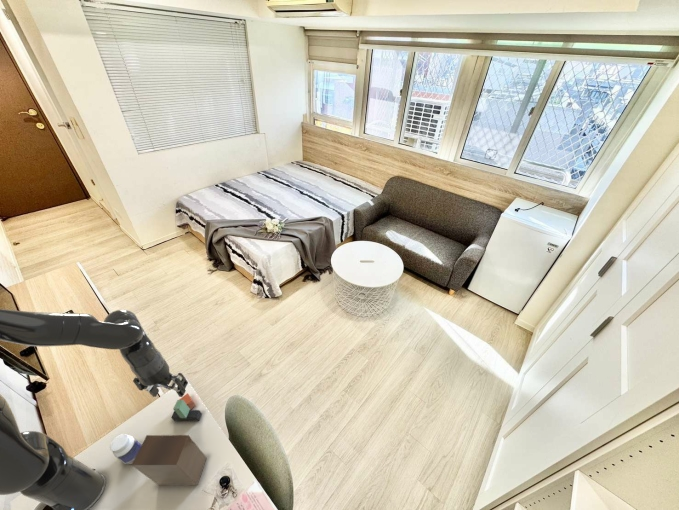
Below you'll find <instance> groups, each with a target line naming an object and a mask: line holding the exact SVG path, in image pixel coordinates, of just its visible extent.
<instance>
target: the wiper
mask: <svg viewBox="0 0 679 510" xmlns="http://www.w3.org/2000/svg"><path fill="white" fill-rule="evenodd" d="M173 410H174V411H173V413H172V415H171V416H170V418H171V419H172V421H174V422H200V420H201V417H202V415H203V413H202V412H201V410H200V409H191V410H190V409H189V407H188V406H187V404H186V403H185V402H184V400H179V399H177V400H176V402H175V404H174V406H173Z"/></svg>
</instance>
